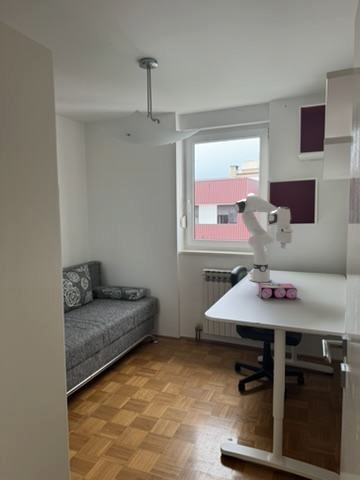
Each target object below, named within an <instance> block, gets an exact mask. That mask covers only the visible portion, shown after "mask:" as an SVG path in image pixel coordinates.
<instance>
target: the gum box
mask: <svg viewBox="0 0 360 480" xmlns="http://www.w3.org/2000/svg"><path fill="white" fill-rule="evenodd" d="M258 294H259V295H260V297H261V298H262V299H296V298H297V297H298V289H297V288H296V287H295V285H293V283H283V282H282V283H280V282H258ZM296 296H297V297H296ZM262 299H261V300H262Z"/></svg>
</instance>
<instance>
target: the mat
mask: <svg viewBox="0 0 360 480" xmlns="http://www.w3.org/2000/svg"><path fill="white" fill-rule="evenodd" d="M255 295H256V296H257V297H258V298H259V299H260V300H262V301H283V300H284V301H288V300H289V301H290V300H292V301H293V300H294V301H295V300H301V298H300V297H298V295H297V296H296V297H297V298H296V299H262V298H261V297H260V295H259V293H256V294H255Z"/></svg>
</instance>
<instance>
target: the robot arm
mask: <svg viewBox="0 0 360 480" xmlns="http://www.w3.org/2000/svg"><path fill="white" fill-rule="evenodd" d="M234 210H235V212H237V213H238V214H241V219H242V221H243V224H244V226H245V228H246V230H247V231H248V233H249V234H251V236H249V237H248V239H247V243H248V245H249V246H250V248H251V249H252V252H253V261H254V262H253V267H252V269H251V271H250V272H249V275H248V277H247V278H248V281H249V282H257V283H269V282H270V281H271V282H272V278H271V272H270V270H269V264H268V263H269V262H268V261H269V260H268V259H269V256H268V253H267V252H266V251H265V248H268V247H271V246H273V244H274V243H275V240H276V242H280V247H281V248H280V249H286V245H287V244H292V239H293V237H292V236H293V228H292V227H291V222H292V214H291V211H290V210H291V209H290V208H289V207H288V206H276V205H273V204H272V203H270V202H268V201H267V200H266V199H263V198H262V197H261V196H259V195H257V194H256V193H248V194H247V195H246V197H245V199H241V200H238V201H236V203H235V204H234ZM256 212H258V213H267V214H268V215H267V220H268V223H269V224H270V225H277V226H276V228H277V229H276V230H277V231H276V236H275V238H274V236H273V235H272V234H270V233H268V231H266V230H265V229H264V227H263V226H261V224H260V222H259V220H258V218H257V217H256V215H255V213H256Z"/></svg>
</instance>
